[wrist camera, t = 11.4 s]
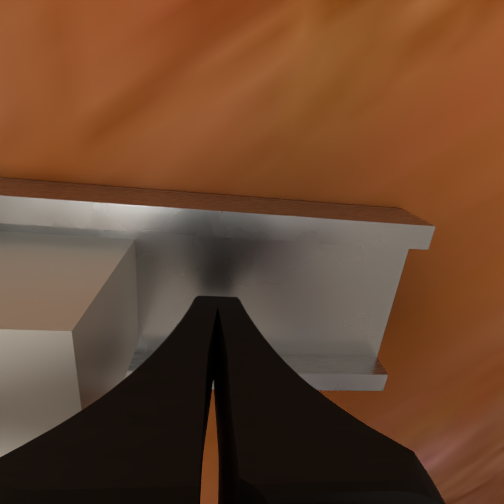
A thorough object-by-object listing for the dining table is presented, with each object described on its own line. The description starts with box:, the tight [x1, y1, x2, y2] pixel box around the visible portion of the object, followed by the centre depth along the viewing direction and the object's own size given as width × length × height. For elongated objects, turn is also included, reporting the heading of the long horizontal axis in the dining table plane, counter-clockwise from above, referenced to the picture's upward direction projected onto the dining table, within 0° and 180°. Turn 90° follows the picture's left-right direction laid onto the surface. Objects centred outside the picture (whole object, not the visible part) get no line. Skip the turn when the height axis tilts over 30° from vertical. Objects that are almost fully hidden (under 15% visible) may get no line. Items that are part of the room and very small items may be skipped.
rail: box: [0, 178, 436, 391], centre depth 10 cm, size 17×7×5 cm, turn 84°
